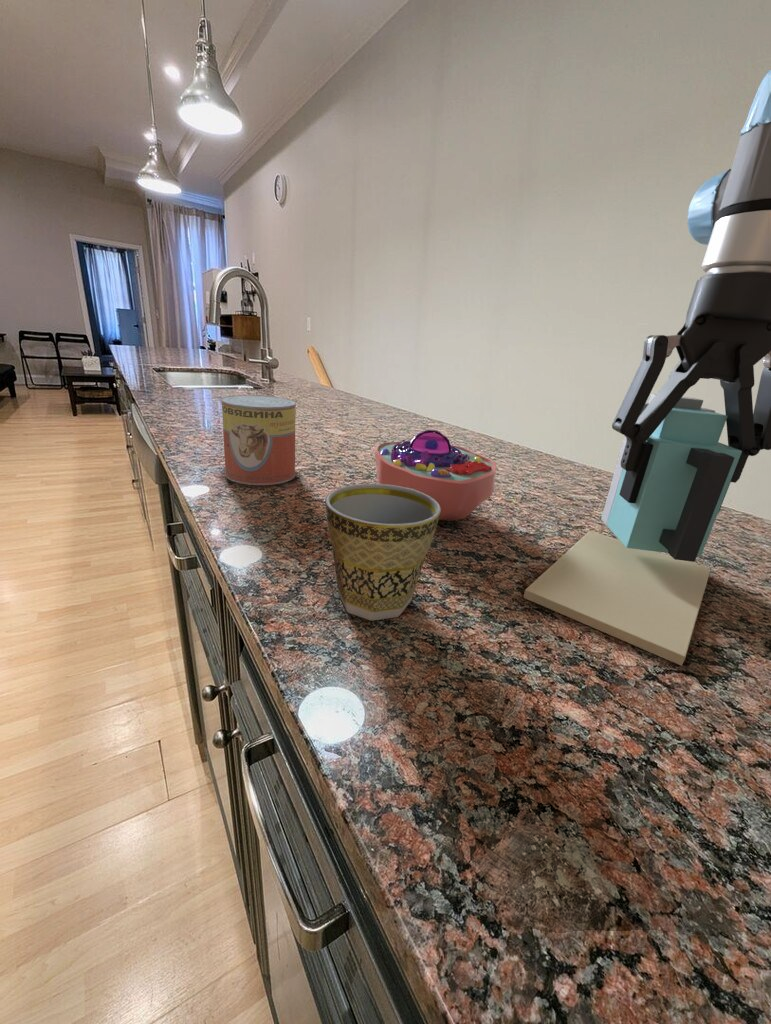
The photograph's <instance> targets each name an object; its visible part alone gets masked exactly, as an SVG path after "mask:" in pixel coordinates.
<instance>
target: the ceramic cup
mask: <svg viewBox="0 0 771 1024" xmlns="http://www.w3.org/2000/svg"><path fill="white" fill-rule="evenodd" d="M324 504H325V515H326V523H327V529H328V530H327V531H328V536H329V539H330V544H331V550H332V558H333V563H334V571H335V579H336V586H337V593H338V596H339V598H340V600H341V602H342V605H343V607H344V609H345V611H346V612H347V614H349V615H354V616H356V617H359V618H362V619H365V620H368V621H372V622H373V621H379V620H385V619H392V618H399V617H400V616H401V615H402V613H404V611H405V610H406V608H407V607H408V605H409V604H410V603H411V602H412V599H413V596H414V594H415V590H416V587H417V585H418V581H419V578H420V575H421V572H422V569H423V566H424V563H425V559H426V557H427V554H428V552H429V549H430V547H431V545H432V542H433V539H434V537H435V534H436V531H437V528H438V523H439V521H438V520H439V516H440V512H441V508H440V505H439V504H438V503H437V502H436V501H435V500H434V499H433V498H431V497H430V496H428V495H426V494H424V493H422V492H419V491H416V490H415V489H412V488H405V487H401V486H395V485H387V484H377V483H357V484H350V485H345V486H341V487H338V488H335V489H334V490H332V491H331V492H329V493H328V494H327V495H326V497H325V500H324Z"/></svg>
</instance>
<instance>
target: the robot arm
mask: <svg viewBox="0 0 771 1024" xmlns="http://www.w3.org/2000/svg"><path fill="white" fill-rule="evenodd" d="M739 136H740V137H739V142H738V145H737V148H736V151H735V155H734V158H733V161H732V166H731V168H729V169H726V170H725V171H724V172H722V173H719V174H717V175H715V176H713V177H710V178H709V179H708V180H706V181H705V182H704V183H702V184H701V186H700V187H699V188H698V189H697V190H696V192H695V193H694V195H693V197H692V199H691V201H690V204H689V206H688V210H687V211H688V212H687V218H686V219H687V229H688V233H689V235H690V236H691V237H692V239H693V240H694V241H695V242H697V243H699V244H701V245H705V246H706V245H707V248H706V251H705V254H704V257H703V261H702V263H701V269H702V271H703V272H704V273H706V274H705V275H702V276H701V277H700V278H699V279H697V281H696V282H695V286H694V289H693V292H692V295H691V299H690V302H689V305H688V308H687V312H686V317H685V322H684V324H683V326H682V327H681V328H680V329H679V331H678V332H676V334H672V335H665V334H653V335H648V336H646V338H645V339H644V342H643V349H642V360H641V361H640V363H639V366H638V367H637V370H636V372H635V375H634V376H633V378H632V381H631V383H630V385H629V387H628V389H627V392H626V394H625V396H624V398H623V400H622V401H621V404H620V406H619V409H618V411H617V413H616V415H615V417H614V419H613V422H612V424H611V428H612V429H613V430H614V431H616V432H618V433H619V434H621V435H624V437H625V436H626V438H627V442H626V446H625V449H624V452H623V456H622V459H621V467H622V468H623V469H625V470H626V473H625V477H624V480H623V483H622V487H621V490H620V493H619V495H620V496H621V497H623V498H624V499H625V500H626V501H627V502H628V503H636V500H637V497H638V494H639V490H640V487H641V484H642V481H643V478H644V474H645V471H646V468H647V465H648V462H649V458H650V455H651V452H652V449H653V446H654V445H652V444H650V443H648V442H646V441H647V440H648V438H649V437H650V436H651V435H652V433H653V432H654V431H655V430H656V428H657V427H658V426H659V425H660V424H661V422H662V421H663V420H664V419H665V417H666V416H667V415H668V414H669V412H670V411H671V410H672V409H673V407H674V406H675V405H676V404H677V403H678V401H679V400H680V399H681V398H682V397H684V395H685V394H686V393H687V392H688V391H689V389H690V388H692V387H694V386H696V384H697V383H698V382H699V381H700V379H705V380H711V379H713V380H719V384H720V387H721V388H722V390H723V399H724V409H725V411H724V412H725V415H727V416H728V417H727V419H726V422H725V424H726V435H727V436H726V437H727V446H730V447H733V448H736V449H738V450H741V451H742V453H741V455H740V458H739V460H738V463H737V466H736V468H735V471H734V473H733V476H732V478H731V481H730V484H729V486H728V489H727V491H726V494H725V496H724V499H723V501H722V504H721V507H720V509H719V512H718V514H719V513H720V510H721V508H722V506H723V502H724V500H725V498H726V495H727V493H728V490H729V488H730V485H731V483H734V484H735V483H737V482H738V481H739V479H740V478H741V476H742V473H743V471H744V468H745V466H746V463H747V461H748V458H749V457H754V456H757V455H758V454H759V453H760V451H762V450H766V451H771V69H770V70H769V71H768V72H767V73H766V74H765V76H764V77H763V79H762V80H761V82H760V84H759V86H758V89H757V91H756V93H755V96H754V97H753V101H752V104H751V106H750V109H749V111H748V114H747V117H746V120H745V123H744V125H743V127H742V129H741V130H740V134H739ZM674 349H676V352H677V354H678V357H679V361H678V363H677V364H676V365H675V366H674V368H673V369H672V371H671V372H670V373H669V375H668V377H667V380H666V382H665V383H664V384H663V385H662V387H661V388H660V389H659V391H658V392H657V393H655V394H656V396H655V397H654V398H653V399H652V401H651V402H650V403H649V402H648V403H649V404H648V406H647V407H646V408H645V410H644V411H643V412H642V413H641V411H642V409H643V407H644V405H645V403H647V401H648V399H649V398H650V396H651V394H652V393H651V392H652V391H653V388H654V386H655V384H656V383H657V381H658V378H659V377H660V374H661V372H662V371H663V369H664V365H665V363H666V360H667V358H669V357H670V356H671V355H672V353H673V351H674ZM761 360H762V361H761ZM760 361H761V362H762V364H763V366H764V367H763V369H762V372H761V375H760V379H759V383H758V389H757V393H756V394H757V395H756V399H755V404H754V406H753V390H752V388H753V387H754V386H755V367H754V366H755V365H756V364H757V363H758V362H760ZM640 413H641V415H640ZM639 415H640V416H639Z"/></svg>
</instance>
